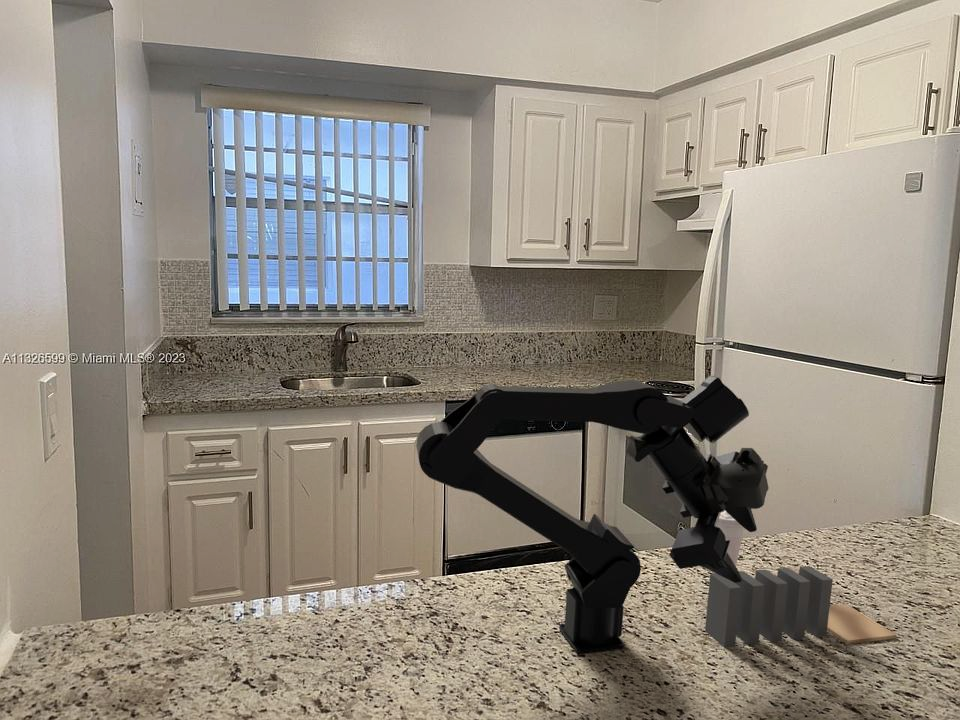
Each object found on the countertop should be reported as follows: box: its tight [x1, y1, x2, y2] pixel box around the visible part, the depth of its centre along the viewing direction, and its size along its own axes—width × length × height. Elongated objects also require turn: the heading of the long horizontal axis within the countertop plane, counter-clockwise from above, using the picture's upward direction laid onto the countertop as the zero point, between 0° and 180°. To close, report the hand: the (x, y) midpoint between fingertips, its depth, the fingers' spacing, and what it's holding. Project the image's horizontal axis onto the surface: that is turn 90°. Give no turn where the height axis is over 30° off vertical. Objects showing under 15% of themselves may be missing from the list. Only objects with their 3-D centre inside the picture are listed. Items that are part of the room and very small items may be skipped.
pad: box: [827, 603, 897, 645], centre depth 100 cm, size 8×9×1 cm
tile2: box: [735, 570, 764, 646], centre depth 95 cm, size 2×4×8 cm, turn 15°
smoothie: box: [710, 510, 746, 574], centre depth 116 cm, size 6×6×14 cm
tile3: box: [754, 568, 788, 644], centre depth 96 cm, size 2×4×8 cm, turn 15°
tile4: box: [776, 567, 810, 641], centre depth 97 cm, size 2×4×8 cm, turn 15°
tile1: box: [704, 573, 741, 649], centre depth 94 cm, size 2×4×8 cm, turn 15°
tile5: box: [798, 565, 834, 638], centre depth 98 cm, size 2×4×8 cm, turn 15°
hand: (746, 555), depth 95 cm, fingers open, 9 cm apart
